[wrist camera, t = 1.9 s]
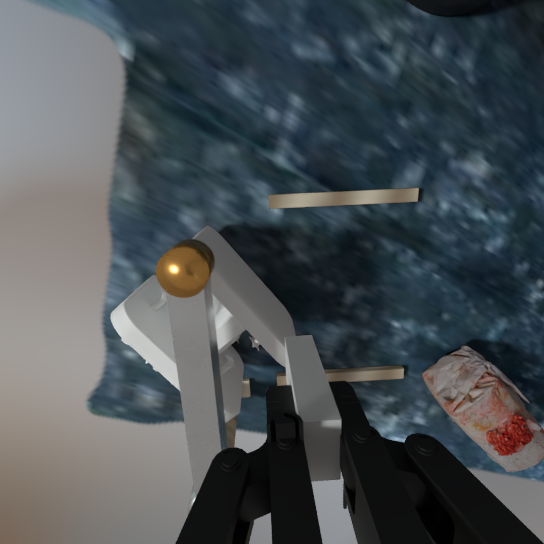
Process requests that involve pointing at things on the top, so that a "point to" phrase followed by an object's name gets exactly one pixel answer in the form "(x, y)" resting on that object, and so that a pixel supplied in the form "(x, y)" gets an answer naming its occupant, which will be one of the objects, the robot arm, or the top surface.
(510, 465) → the food item
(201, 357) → the gold knob lever
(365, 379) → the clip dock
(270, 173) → the top surface
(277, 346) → the cable organizer
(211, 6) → the top surface
